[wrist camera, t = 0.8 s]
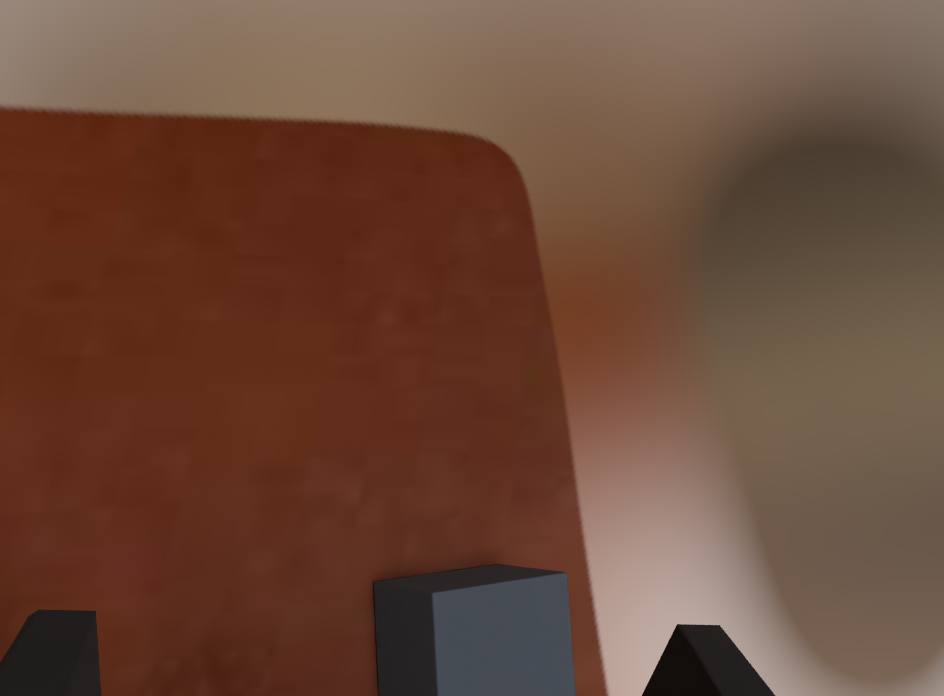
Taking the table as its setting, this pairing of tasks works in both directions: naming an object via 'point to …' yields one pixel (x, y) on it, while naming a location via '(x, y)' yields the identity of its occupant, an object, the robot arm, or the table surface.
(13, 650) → the robot arm
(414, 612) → the loose pad
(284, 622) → the table surface
